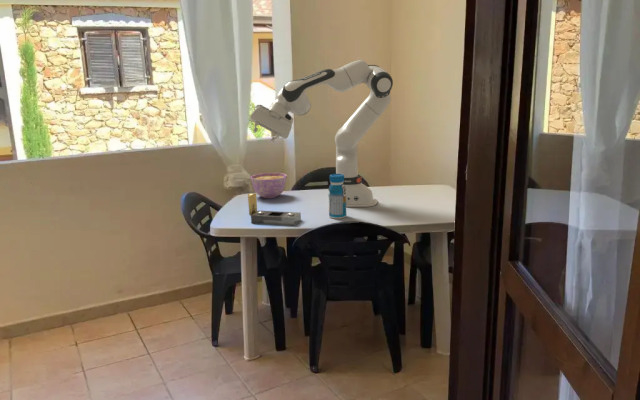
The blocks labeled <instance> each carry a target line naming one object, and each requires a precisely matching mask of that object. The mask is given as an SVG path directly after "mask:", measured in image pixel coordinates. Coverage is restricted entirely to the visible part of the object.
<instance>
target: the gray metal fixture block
mask: <svg viewBox="0 0 640 400" xmlns="http://www.w3.org/2000/svg"><path fill="white" fill-rule="evenodd" d="M301 214H302V213H301V212H293V211H275V210H257V212H256V213H254V214H253V215H250V223H251V224H261V223H262V224H263V225H264V224H265V225H278V226H280V225H283V226H295V225H297V224H298V223H299V222H300V221H301V220H302V217H301Z"/></svg>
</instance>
